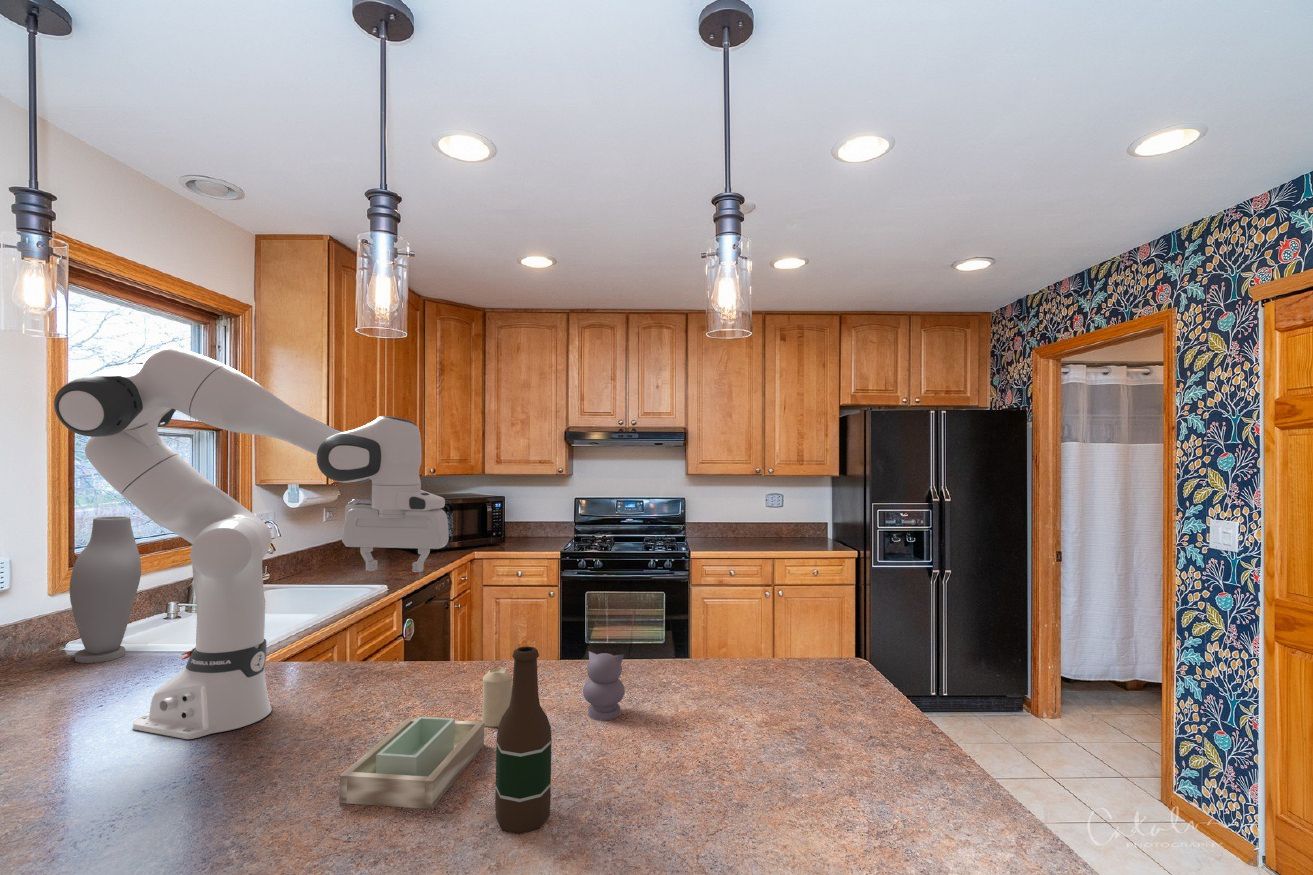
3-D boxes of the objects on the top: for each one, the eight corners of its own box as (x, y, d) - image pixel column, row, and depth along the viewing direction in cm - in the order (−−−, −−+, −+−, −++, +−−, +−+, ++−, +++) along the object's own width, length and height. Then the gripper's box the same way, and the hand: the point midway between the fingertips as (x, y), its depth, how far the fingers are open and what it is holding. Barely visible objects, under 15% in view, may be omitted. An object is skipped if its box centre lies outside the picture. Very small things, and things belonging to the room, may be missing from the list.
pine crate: (338, 802, 92) (339, 775, 92) (406, 740, 112) (407, 717, 112) (432, 809, 90) (432, 781, 90) (483, 744, 111) (484, 721, 111)
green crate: (375, 787, 94) (376, 754, 94) (419, 745, 108) (419, 716, 108) (415, 790, 94) (416, 757, 94) (454, 747, 108) (454, 718, 108)
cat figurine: (576, 719, 122) (577, 657, 122) (590, 703, 129) (591, 646, 130) (617, 724, 120) (618, 661, 120) (629, 708, 127) (630, 649, 128)
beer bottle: (499, 804, 92) (502, 641, 93) (552, 802, 92) (555, 640, 93) (489, 836, 84) (493, 658, 85) (547, 834, 85) (550, 657, 85)
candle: (503, 728, 117) (504, 675, 118) (476, 725, 118) (477, 673, 119) (515, 716, 123) (516, 665, 123) (490, 714, 124) (491, 663, 124)
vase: (51, 662, 150) (60, 518, 152) (106, 646, 163) (115, 514, 164) (96, 667, 148) (105, 521, 149) (149, 651, 161) (157, 516, 162)
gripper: (336, 499, 119) (334, 572, 118) (438, 501, 117) (437, 575, 116) (355, 497, 125) (353, 566, 124) (452, 499, 123) (451, 569, 122)
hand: (394, 570), depth 120 cm, fingers open, 8 cm apart
